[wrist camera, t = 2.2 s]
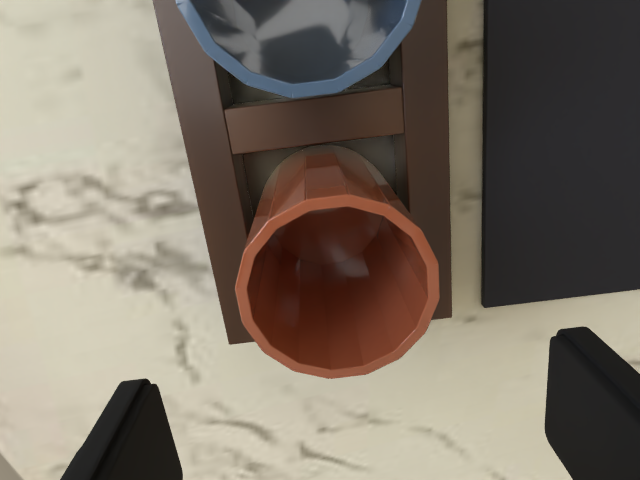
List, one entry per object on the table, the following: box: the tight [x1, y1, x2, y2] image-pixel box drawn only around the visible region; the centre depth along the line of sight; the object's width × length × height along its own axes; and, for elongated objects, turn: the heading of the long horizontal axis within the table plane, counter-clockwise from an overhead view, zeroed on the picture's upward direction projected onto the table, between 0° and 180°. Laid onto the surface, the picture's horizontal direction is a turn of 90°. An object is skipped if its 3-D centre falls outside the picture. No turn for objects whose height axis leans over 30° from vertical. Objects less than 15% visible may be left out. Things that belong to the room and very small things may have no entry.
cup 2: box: [235, 145, 440, 379], centre depth 20 cm, size 7×7×10 cm
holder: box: [153, 0, 452, 344], centre depth 22 cm, size 12×22×3 cm, turn 7°
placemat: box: [482, 0, 640, 308], centre depth 23 cm, size 20×10×1 cm, turn 7°
